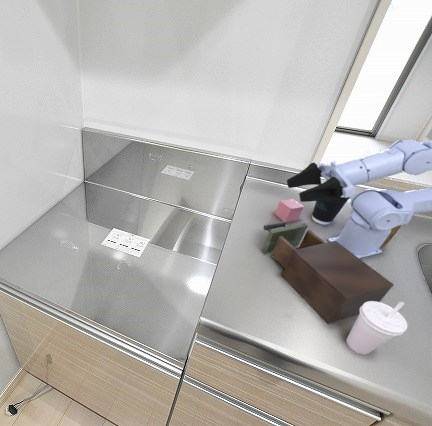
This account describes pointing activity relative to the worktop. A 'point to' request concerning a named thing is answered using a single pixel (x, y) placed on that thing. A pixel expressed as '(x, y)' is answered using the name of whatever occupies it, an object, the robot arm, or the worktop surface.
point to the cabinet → (334, 280)
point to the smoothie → (375, 326)
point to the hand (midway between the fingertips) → (293, 190)
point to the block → (289, 210)
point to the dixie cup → (327, 210)
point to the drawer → (288, 240)
